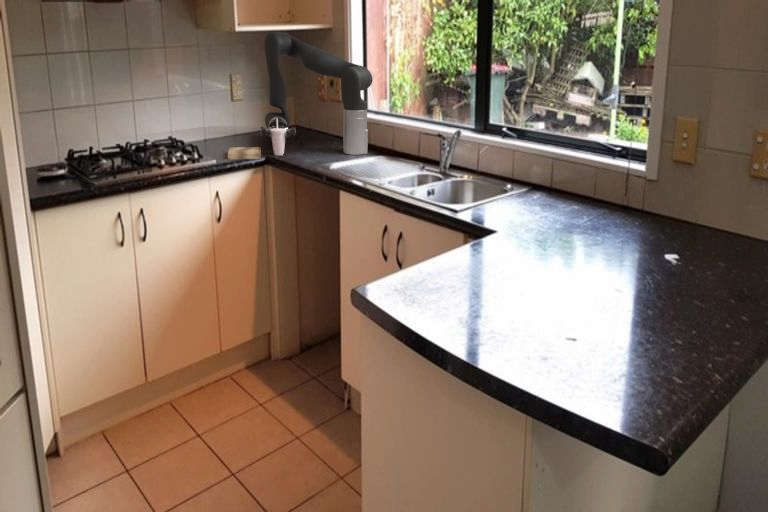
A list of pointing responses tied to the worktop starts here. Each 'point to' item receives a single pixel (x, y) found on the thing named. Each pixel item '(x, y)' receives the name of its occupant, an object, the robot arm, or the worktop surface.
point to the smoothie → (278, 139)
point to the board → (244, 153)
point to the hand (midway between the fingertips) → (278, 134)
